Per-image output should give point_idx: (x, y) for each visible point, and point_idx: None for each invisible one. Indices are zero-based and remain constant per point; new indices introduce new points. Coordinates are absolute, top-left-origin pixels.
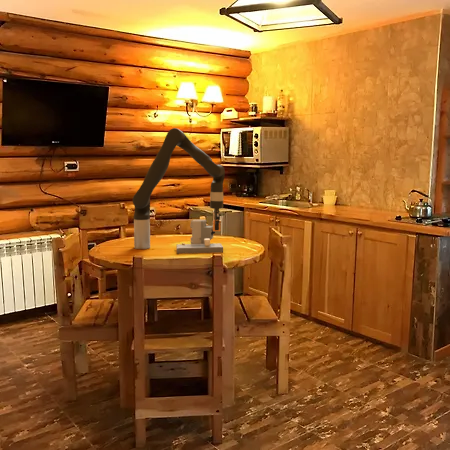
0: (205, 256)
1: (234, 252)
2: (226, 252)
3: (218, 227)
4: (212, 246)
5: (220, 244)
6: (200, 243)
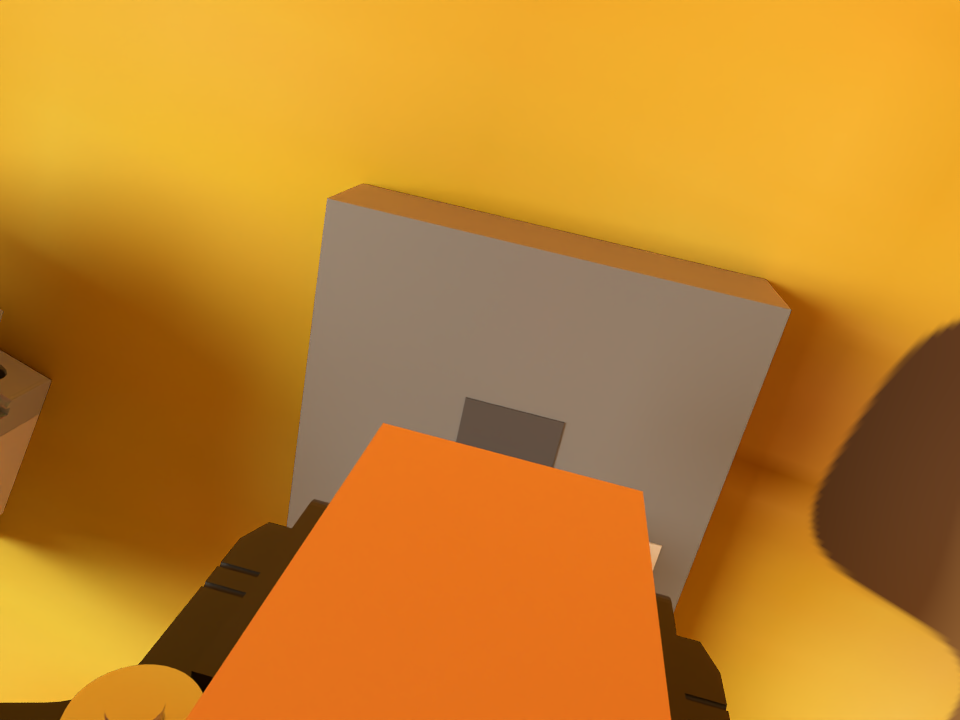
0: (952, 665)
1: (898, 51)
2: (808, 221)
3: (677, 673)
4: (619, 481)
5: (457, 250)
6: (9, 435)
